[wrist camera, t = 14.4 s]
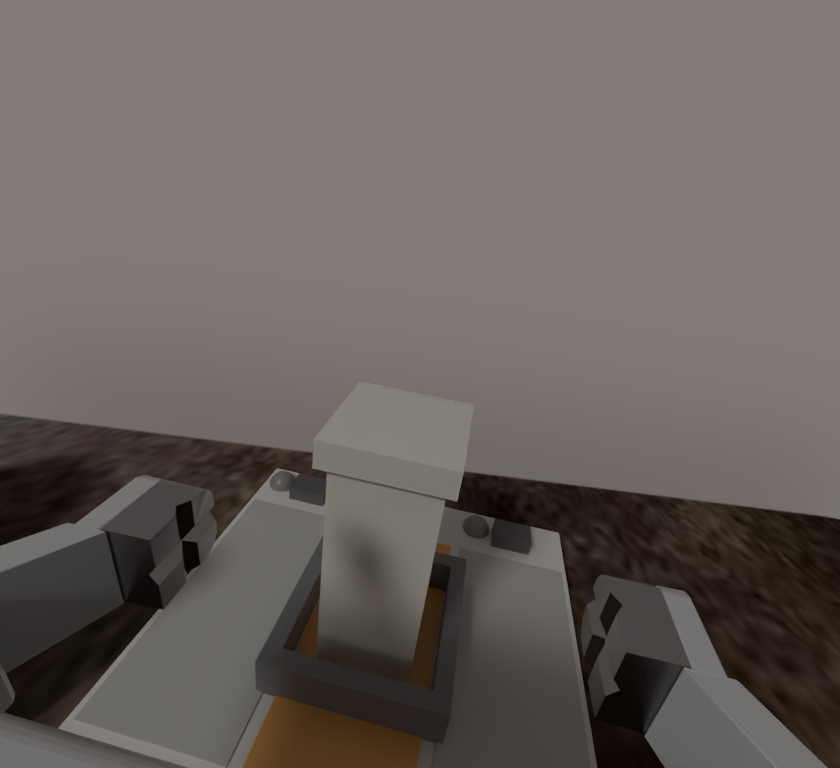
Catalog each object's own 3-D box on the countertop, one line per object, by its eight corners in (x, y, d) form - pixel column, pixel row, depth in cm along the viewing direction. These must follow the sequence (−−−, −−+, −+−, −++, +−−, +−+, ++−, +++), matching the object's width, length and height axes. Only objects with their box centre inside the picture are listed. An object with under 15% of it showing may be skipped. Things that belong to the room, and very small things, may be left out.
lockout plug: (432, 598, 24) (473, 404, 19) (414, 696, 19) (463, 472, 14) (342, 575, 25) (359, 381, 20) (304, 665, 20) (313, 439, 15)
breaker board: (554, 545, 31) (566, 510, 30) (610, 934, 15) (643, 894, 13) (277, 481, 33) (277, 445, 32) (56, 755, 17) (37, 706, 15)
